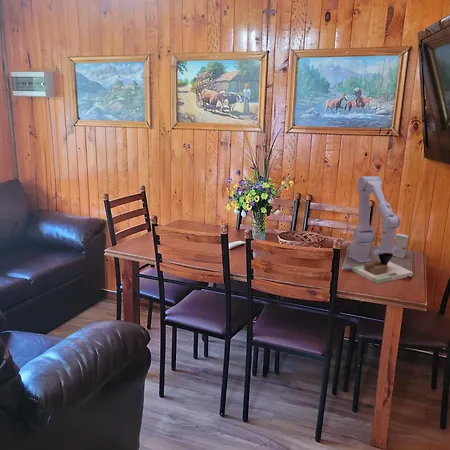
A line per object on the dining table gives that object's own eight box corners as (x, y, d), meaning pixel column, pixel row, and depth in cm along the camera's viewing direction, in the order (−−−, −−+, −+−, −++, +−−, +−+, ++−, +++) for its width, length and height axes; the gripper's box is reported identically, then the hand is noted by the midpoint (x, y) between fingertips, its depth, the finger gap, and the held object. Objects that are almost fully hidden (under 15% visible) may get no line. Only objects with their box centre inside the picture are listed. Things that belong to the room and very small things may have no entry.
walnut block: (363, 269, 213) (364, 262, 212) (375, 267, 216) (376, 260, 215) (375, 275, 207) (376, 268, 206) (386, 272, 210) (388, 266, 209)
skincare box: (391, 256, 239) (395, 234, 235) (393, 253, 243) (396, 232, 239) (403, 258, 236) (407, 237, 232) (405, 256, 240) (408, 235, 236)
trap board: (352, 271, 216) (352, 267, 215) (386, 264, 226) (387, 260, 226) (377, 283, 202) (377, 279, 202) (412, 276, 213) (413, 272, 212)
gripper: (383, 245, 203) (378, 272, 207) (405, 241, 209) (400, 267, 213) (371, 240, 209) (367, 266, 213) (393, 236, 215) (389, 262, 219)
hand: (383, 267), depth 213 cm, fingers closed
